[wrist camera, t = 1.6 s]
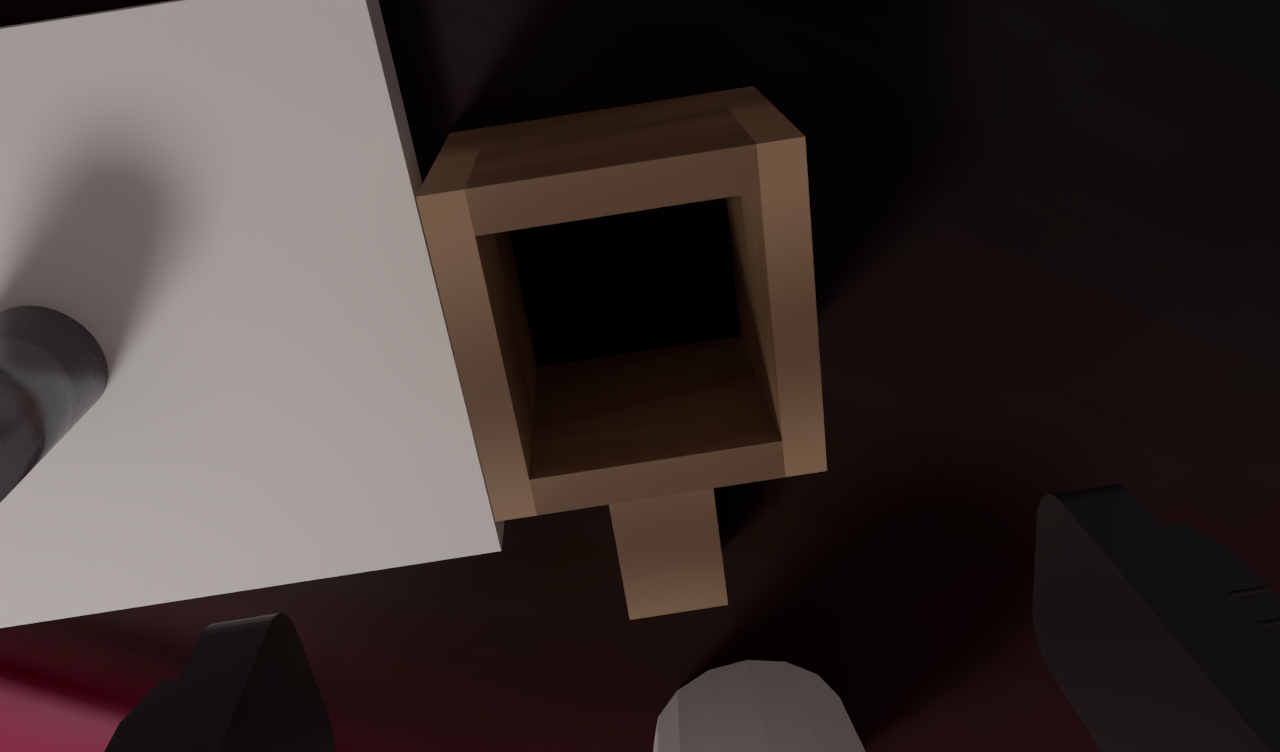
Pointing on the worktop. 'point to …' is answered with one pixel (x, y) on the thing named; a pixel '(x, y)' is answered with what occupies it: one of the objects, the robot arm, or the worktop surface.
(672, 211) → the worktop surface
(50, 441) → the post
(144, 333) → the board
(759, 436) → the open wooden box
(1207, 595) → the robot arm
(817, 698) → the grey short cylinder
